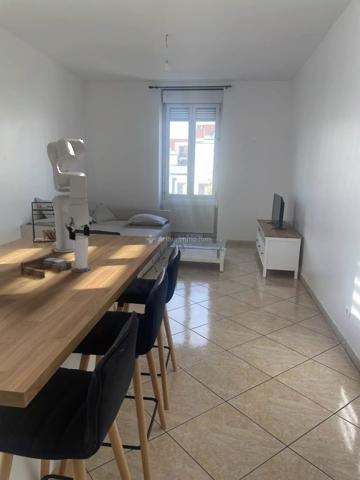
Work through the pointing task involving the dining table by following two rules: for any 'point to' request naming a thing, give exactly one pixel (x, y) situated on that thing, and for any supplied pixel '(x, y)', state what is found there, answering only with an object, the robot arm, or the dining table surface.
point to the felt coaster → (81, 270)
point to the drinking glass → (81, 251)
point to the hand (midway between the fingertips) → (79, 237)
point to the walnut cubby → (44, 265)
